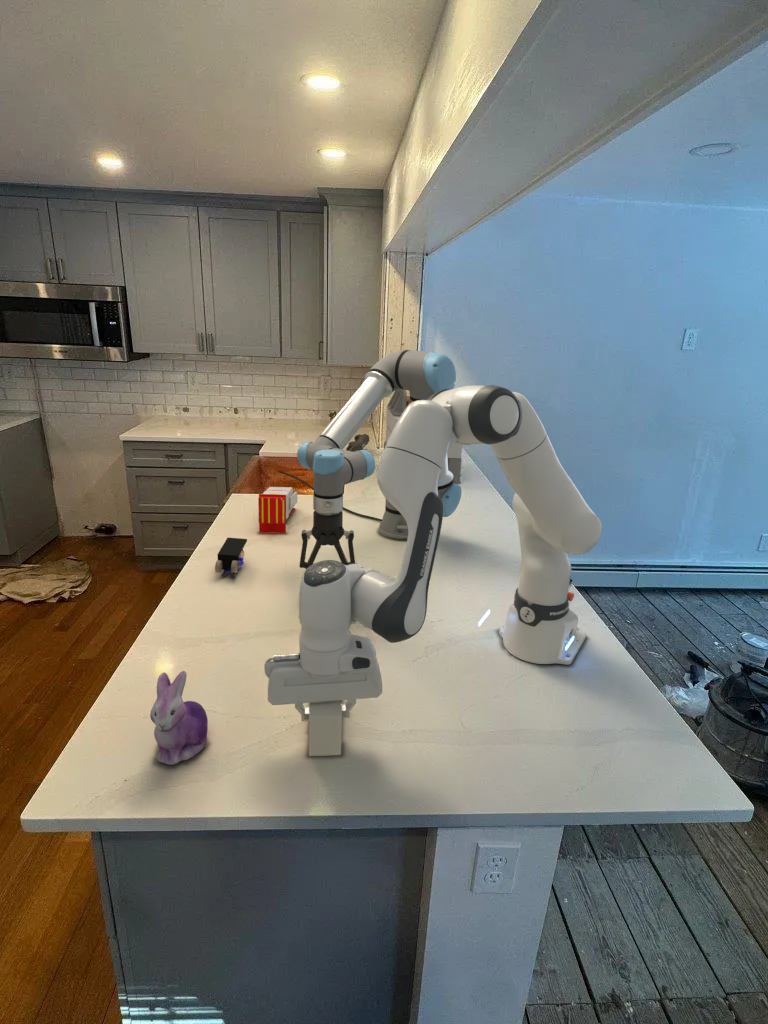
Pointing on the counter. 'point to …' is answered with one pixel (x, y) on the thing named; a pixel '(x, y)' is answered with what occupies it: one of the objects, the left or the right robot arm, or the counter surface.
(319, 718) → the post
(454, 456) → the transformer
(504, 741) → the counter surface
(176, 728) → the figurine
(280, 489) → the toy
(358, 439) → the fossil
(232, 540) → the black wheeled rover
